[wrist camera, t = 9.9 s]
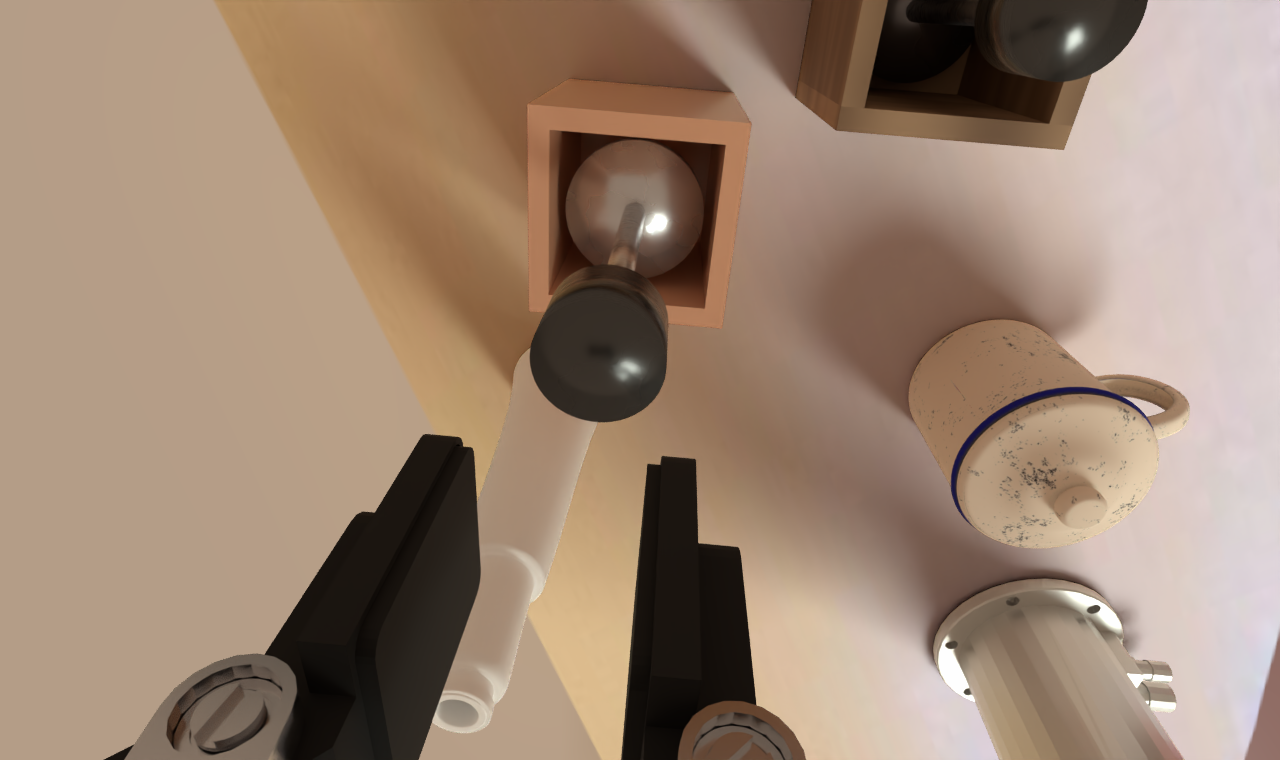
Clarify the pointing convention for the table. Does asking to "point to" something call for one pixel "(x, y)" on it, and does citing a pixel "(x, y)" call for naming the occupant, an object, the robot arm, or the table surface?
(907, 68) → the dark metallic plunger
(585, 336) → the black knobbed plunger
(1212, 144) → the table surface
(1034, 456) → the teacup with lid
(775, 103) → the table surface
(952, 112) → the wooden handled box
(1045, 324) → the table surface
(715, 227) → the square planter pot
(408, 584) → the robot arm
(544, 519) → the cosmetic bottle
